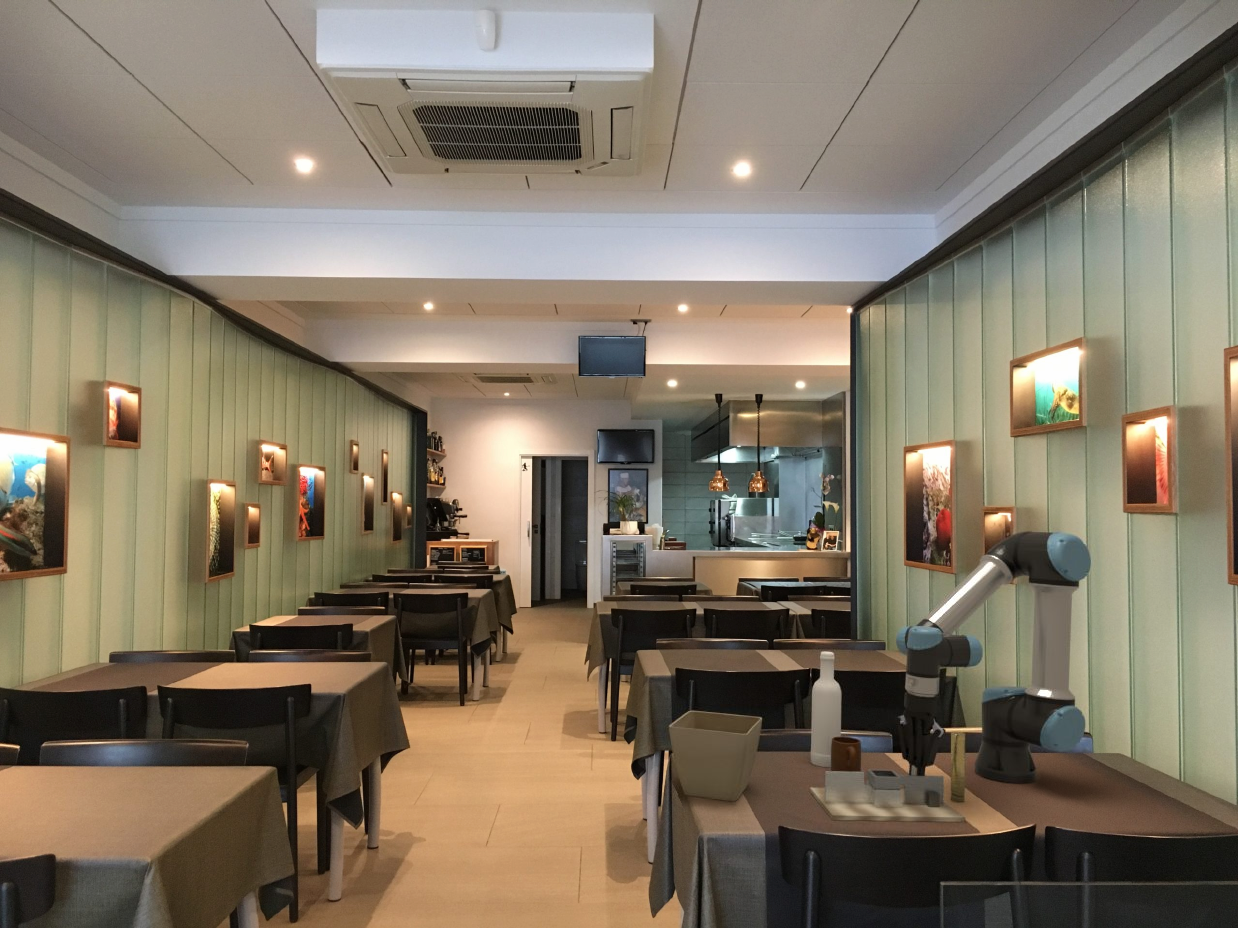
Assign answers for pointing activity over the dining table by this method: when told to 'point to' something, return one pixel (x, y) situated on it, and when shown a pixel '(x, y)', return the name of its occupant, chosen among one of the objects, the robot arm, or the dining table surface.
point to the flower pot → (714, 753)
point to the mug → (846, 754)
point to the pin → (958, 767)
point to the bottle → (825, 712)
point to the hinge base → (864, 791)
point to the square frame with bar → (908, 784)
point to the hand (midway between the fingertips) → (915, 793)
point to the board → (888, 811)
